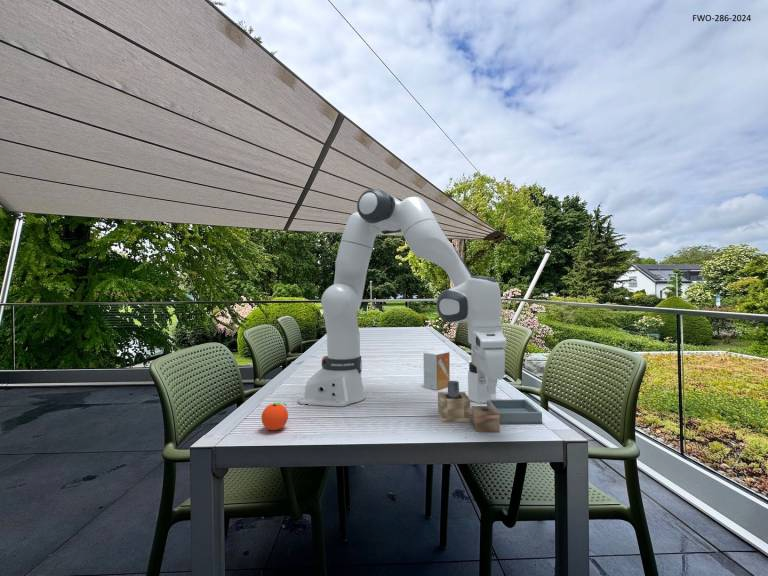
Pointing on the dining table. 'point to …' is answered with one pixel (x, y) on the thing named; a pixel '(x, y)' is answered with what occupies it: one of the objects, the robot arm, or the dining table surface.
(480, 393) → the jar
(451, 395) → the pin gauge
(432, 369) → the small box
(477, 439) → the dining table surface
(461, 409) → the beech block
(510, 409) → the tray
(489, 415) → the walnut block
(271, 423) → the clementine
